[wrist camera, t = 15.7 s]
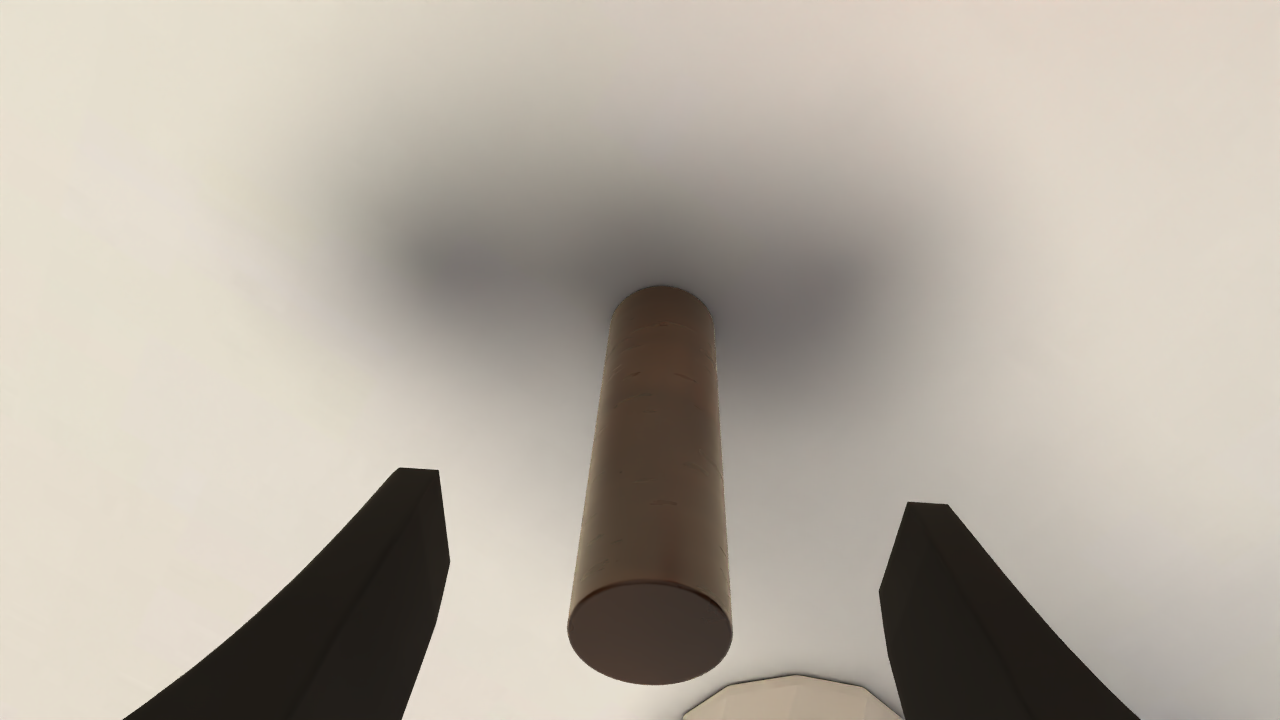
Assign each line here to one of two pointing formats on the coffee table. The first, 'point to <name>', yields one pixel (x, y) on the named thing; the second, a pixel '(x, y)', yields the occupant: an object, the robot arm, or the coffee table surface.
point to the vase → (792, 702)
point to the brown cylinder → (655, 501)
